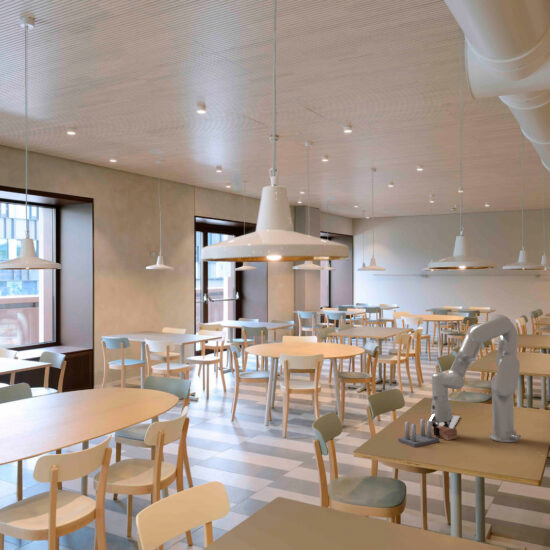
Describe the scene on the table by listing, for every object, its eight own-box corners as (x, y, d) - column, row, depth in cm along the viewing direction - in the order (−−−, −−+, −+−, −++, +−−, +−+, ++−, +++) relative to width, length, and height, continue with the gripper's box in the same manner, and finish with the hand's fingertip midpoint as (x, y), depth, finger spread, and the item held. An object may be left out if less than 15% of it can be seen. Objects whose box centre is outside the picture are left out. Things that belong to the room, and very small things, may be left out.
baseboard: (432, 430, 284) (452, 432, 280) (432, 424, 284) (452, 426, 280) (441, 416, 312) (460, 418, 307) (441, 411, 312) (460, 413, 307)
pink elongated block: (457, 438, 267) (456, 429, 267) (448, 440, 264) (448, 431, 264) (435, 431, 279) (435, 423, 279) (427, 433, 276) (426, 425, 276)
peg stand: (439, 441, 262) (438, 421, 262) (414, 447, 254) (413, 426, 254) (422, 436, 272) (422, 417, 272) (398, 441, 264) (397, 421, 264)
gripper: (433, 401, 265) (434, 439, 264) (458, 397, 273) (459, 433, 273) (422, 399, 271) (423, 435, 271) (447, 394, 280) (448, 430, 279)
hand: (441, 434), depth 272 cm, fingers closed on pink elongated block, 6 cm apart
